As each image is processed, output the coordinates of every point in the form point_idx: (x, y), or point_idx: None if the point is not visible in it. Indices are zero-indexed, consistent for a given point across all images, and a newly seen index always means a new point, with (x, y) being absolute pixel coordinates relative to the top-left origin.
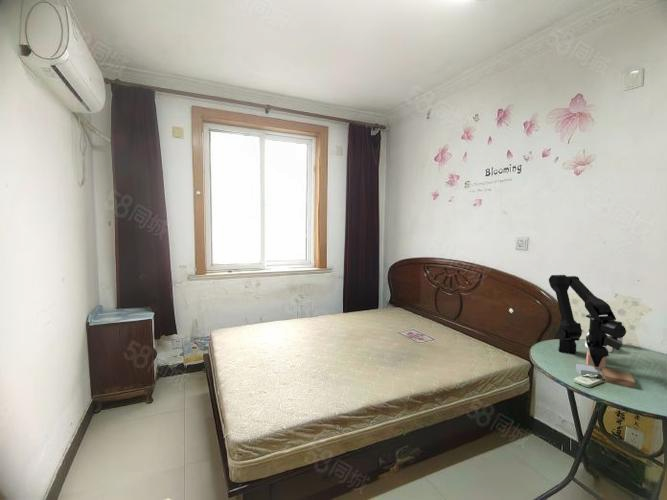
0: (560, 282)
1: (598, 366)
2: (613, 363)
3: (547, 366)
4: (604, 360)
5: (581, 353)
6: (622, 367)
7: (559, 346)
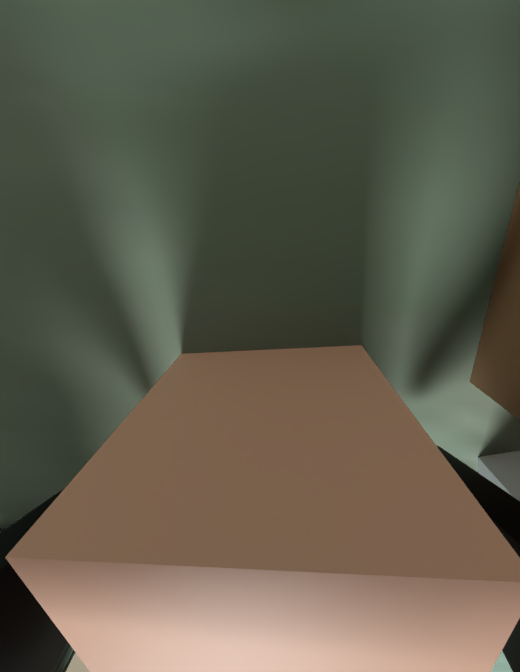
0: None
1: (449, 453)
2: (5, 232)
3: (496, 667)
4: (448, 483)
5: (5, 491)
6: (61, 108)
7: (72, 656)
